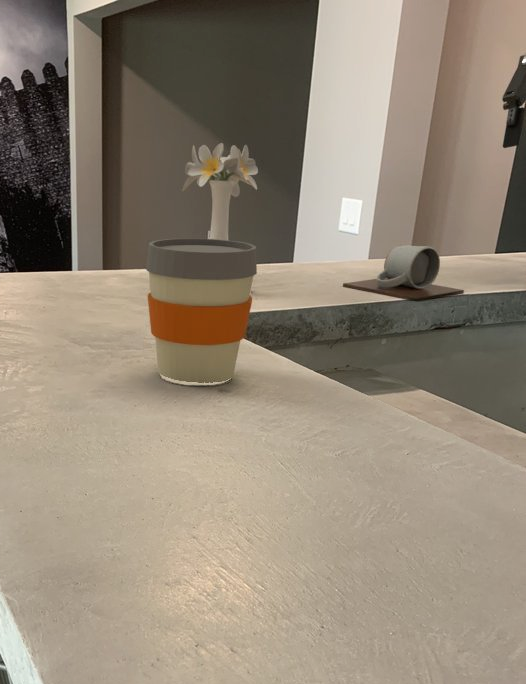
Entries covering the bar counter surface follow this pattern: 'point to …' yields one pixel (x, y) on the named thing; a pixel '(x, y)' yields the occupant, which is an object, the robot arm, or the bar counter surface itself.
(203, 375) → the reusable coffee cup
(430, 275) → the ceramic mug
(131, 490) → the bar counter surface
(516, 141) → the robot arm
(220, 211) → the flower vase
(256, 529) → the bar counter surface
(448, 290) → the placemat
